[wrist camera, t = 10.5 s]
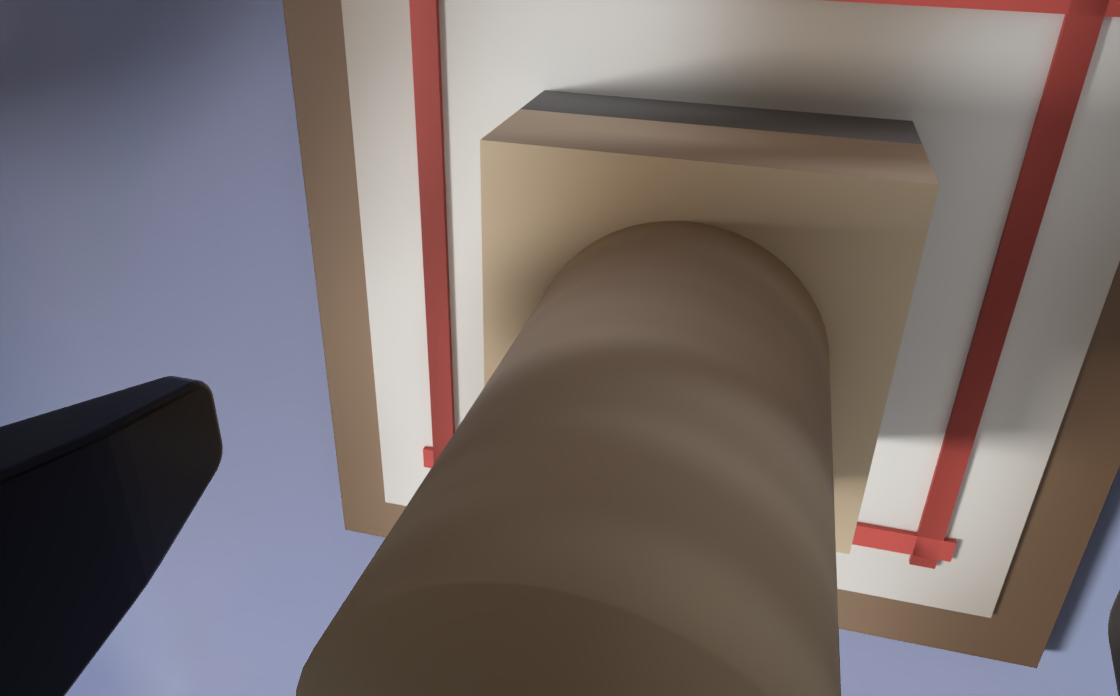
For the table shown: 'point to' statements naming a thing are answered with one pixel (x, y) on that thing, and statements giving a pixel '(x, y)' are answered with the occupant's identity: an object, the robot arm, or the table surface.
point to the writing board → (782, 84)
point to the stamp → (653, 410)
